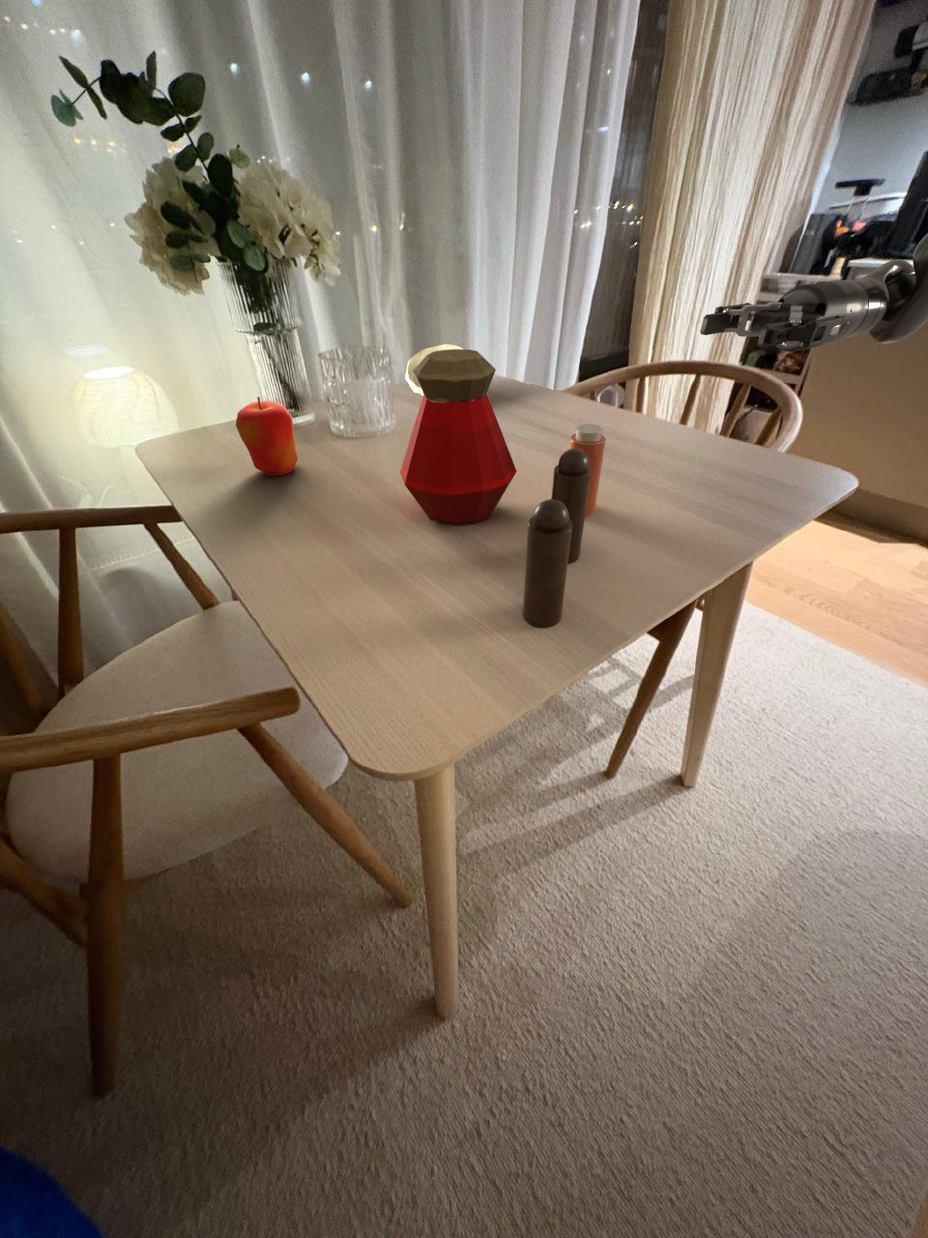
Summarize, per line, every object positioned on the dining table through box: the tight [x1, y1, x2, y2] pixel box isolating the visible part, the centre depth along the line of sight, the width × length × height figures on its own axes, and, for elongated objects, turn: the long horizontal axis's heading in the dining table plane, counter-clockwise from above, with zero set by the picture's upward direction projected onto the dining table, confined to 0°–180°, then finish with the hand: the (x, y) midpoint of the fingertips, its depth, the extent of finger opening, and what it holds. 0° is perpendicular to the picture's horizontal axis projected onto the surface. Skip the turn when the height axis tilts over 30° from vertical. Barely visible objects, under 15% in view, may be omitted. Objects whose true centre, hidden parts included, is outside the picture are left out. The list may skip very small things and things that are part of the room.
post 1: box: [522, 498, 573, 629], centre depth 48 cm, size 4×4×13 cm
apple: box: [235, 396, 298, 476], centre depth 79 cm, size 9×8×12 cm
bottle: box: [399, 348, 517, 527], centre depth 63 cm, size 16×14×20 cm
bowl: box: [405, 343, 463, 397], centre depth 104 cm, size 15×14×10 cm
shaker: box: [568, 423, 607, 517], centre depth 65 cm, size 4×4×11 cm
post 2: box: [551, 448, 592, 565], centre depth 56 cm, size 4×4×13 cm
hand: (731, 330), depth 60 cm, fingers open, 8 cm apart
